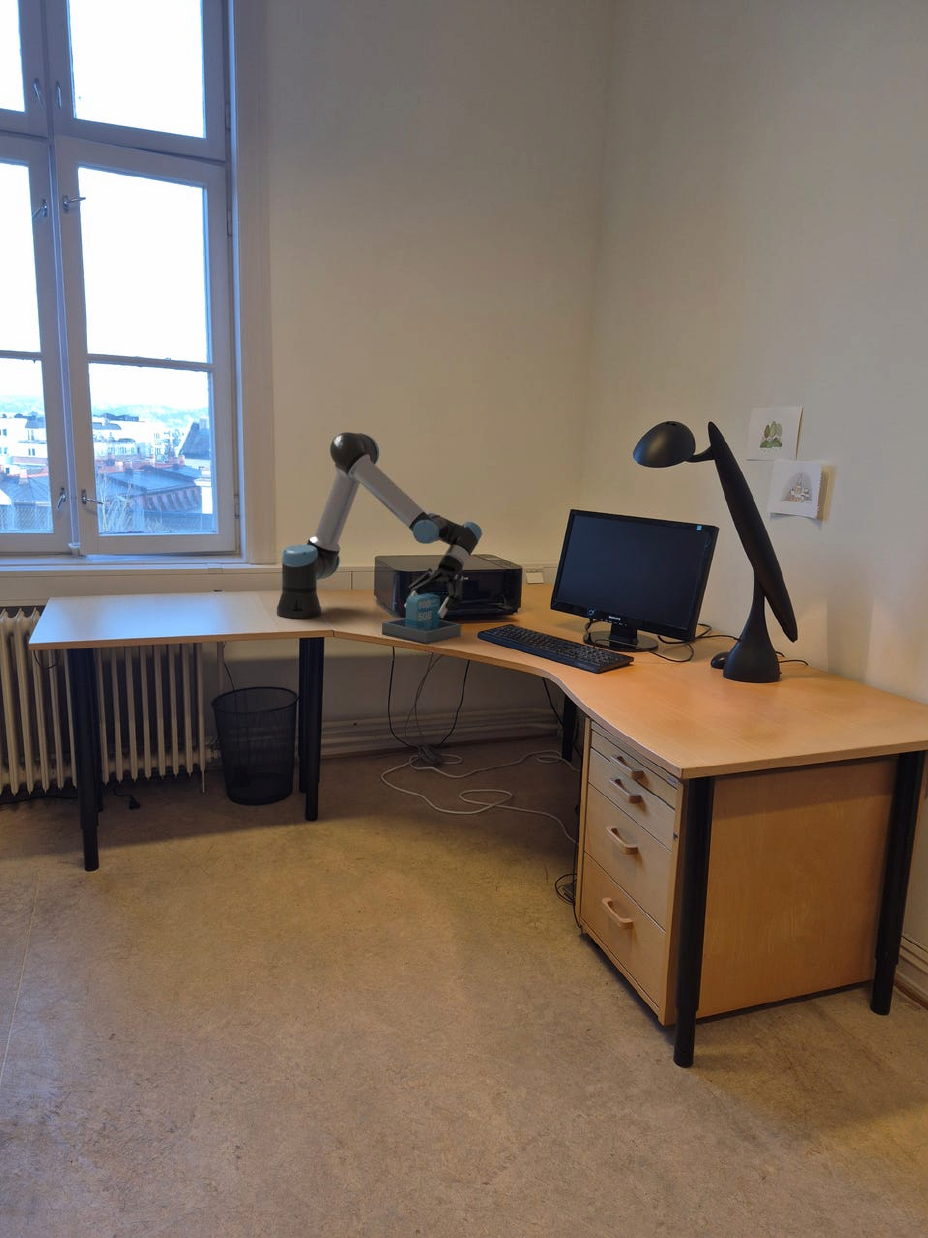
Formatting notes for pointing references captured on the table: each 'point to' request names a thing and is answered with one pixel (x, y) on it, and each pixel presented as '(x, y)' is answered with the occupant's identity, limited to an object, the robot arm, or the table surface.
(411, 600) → the blue printed box
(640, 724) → the table surface
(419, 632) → the tray
